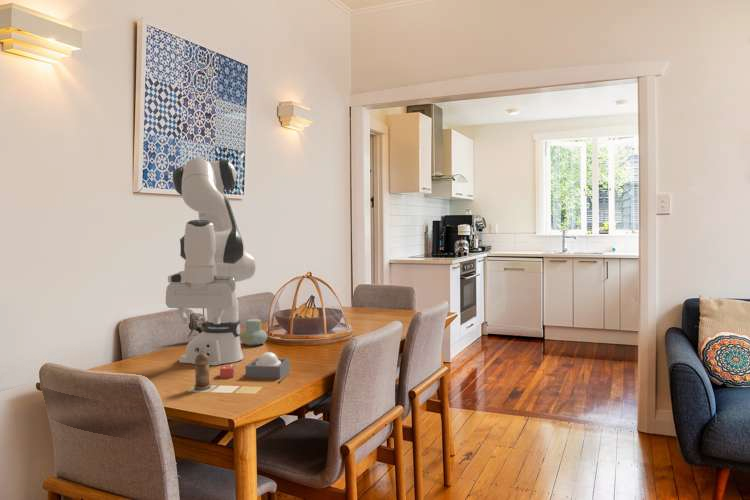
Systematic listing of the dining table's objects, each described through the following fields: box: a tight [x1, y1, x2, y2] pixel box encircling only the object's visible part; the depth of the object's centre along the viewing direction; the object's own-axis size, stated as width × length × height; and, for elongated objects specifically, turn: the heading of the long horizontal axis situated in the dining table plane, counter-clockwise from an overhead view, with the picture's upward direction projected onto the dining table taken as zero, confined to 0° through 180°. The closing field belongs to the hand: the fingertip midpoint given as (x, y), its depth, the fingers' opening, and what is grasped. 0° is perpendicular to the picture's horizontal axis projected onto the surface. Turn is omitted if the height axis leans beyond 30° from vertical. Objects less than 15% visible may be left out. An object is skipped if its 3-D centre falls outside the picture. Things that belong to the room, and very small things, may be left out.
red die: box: [219, 364, 236, 379], centre depth 178 cm, size 4×4×4 cm
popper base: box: [245, 357, 291, 384], centre depth 181 cm, size 11×11×5 cm
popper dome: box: [255, 351, 281, 366], centre depth 181 cm, size 8×8×6 cm
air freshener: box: [239, 318, 268, 347], centre depth 232 cm, size 11×8×10 cm
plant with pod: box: [187, 308, 207, 339], centre depth 238 cm, size 8×11×20 cm
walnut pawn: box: [193, 353, 212, 391], centre depth 164 cm, size 5×5×10 cm
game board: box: [187, 384, 263, 395], centre depth 164 cm, size 21×9×1 cm, turn 83°
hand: (201, 323), depth 164 cm, fingers open, 8 cm apart
